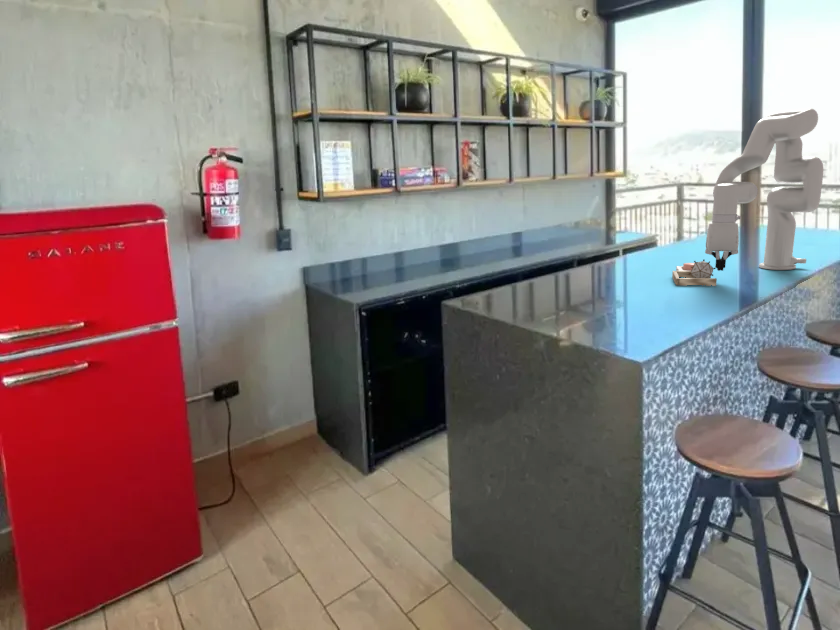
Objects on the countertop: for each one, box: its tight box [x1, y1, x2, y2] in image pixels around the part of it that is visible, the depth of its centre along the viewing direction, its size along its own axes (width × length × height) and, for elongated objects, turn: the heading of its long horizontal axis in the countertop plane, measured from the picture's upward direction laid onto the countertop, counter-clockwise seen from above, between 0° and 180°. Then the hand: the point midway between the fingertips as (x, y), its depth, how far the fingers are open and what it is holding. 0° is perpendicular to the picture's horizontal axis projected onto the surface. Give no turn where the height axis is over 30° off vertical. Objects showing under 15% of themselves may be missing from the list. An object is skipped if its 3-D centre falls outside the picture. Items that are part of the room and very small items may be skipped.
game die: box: [689, 259, 717, 278], centre depth 213 cm, size 9×8×10 cm
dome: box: [682, 262, 695, 270], centre depth 226 cm, size 6×6×3 cm
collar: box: [675, 265, 691, 271], centre depth 226 cm, size 10×10×2 cm
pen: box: [671, 270, 718, 287], centre depth 215 cm, size 13×15×2 cm
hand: (720, 269), depth 211 cm, fingers closed
